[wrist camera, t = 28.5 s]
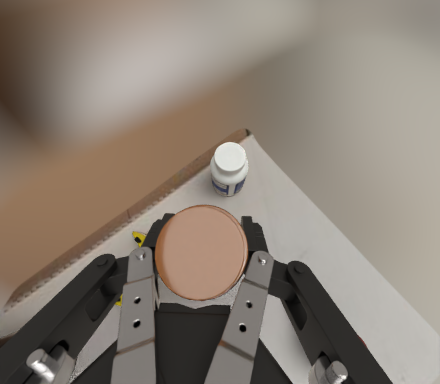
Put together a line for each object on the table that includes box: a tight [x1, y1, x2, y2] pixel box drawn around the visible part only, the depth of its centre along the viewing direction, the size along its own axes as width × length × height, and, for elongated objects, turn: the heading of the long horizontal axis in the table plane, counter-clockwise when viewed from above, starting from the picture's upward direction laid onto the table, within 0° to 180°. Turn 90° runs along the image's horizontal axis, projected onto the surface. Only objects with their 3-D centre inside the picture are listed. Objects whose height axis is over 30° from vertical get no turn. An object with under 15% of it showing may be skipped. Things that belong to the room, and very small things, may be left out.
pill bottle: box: [210, 142, 249, 196], centre depth 27 cm, size 5×5×10 cm
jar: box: [155, 205, 248, 301], centre depth 13 cm, size 5×5×10 cm
